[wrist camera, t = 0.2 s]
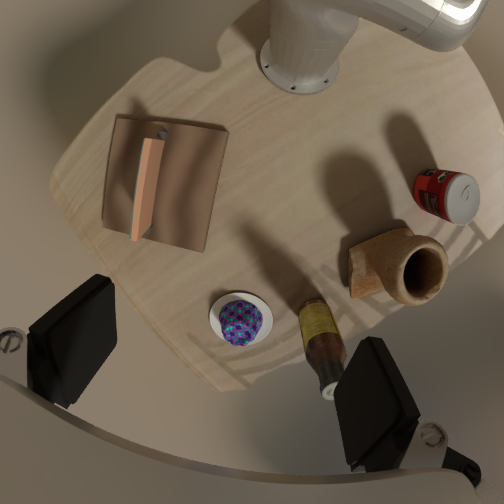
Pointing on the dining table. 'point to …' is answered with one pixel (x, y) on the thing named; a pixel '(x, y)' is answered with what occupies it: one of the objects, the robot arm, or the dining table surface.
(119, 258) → the dining table surface
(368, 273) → the clay platform pipe
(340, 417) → the robot arm
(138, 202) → the tile
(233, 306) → the patterned brimmed hat
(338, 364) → the sauce bottle
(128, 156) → the board
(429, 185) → the canned food
